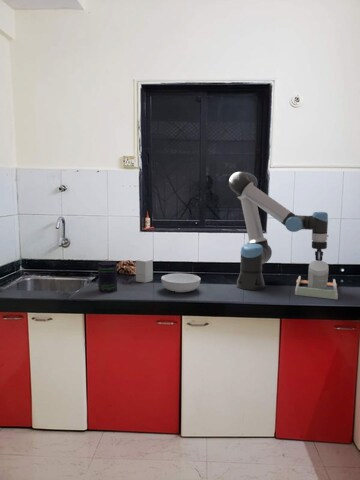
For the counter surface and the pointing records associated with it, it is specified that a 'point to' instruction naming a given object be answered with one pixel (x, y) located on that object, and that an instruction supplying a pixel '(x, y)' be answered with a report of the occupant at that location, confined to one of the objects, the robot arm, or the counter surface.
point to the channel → (316, 291)
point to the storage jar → (107, 276)
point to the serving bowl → (180, 282)
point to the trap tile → (307, 282)
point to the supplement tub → (318, 275)
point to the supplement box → (144, 270)
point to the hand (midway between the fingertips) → (317, 283)
